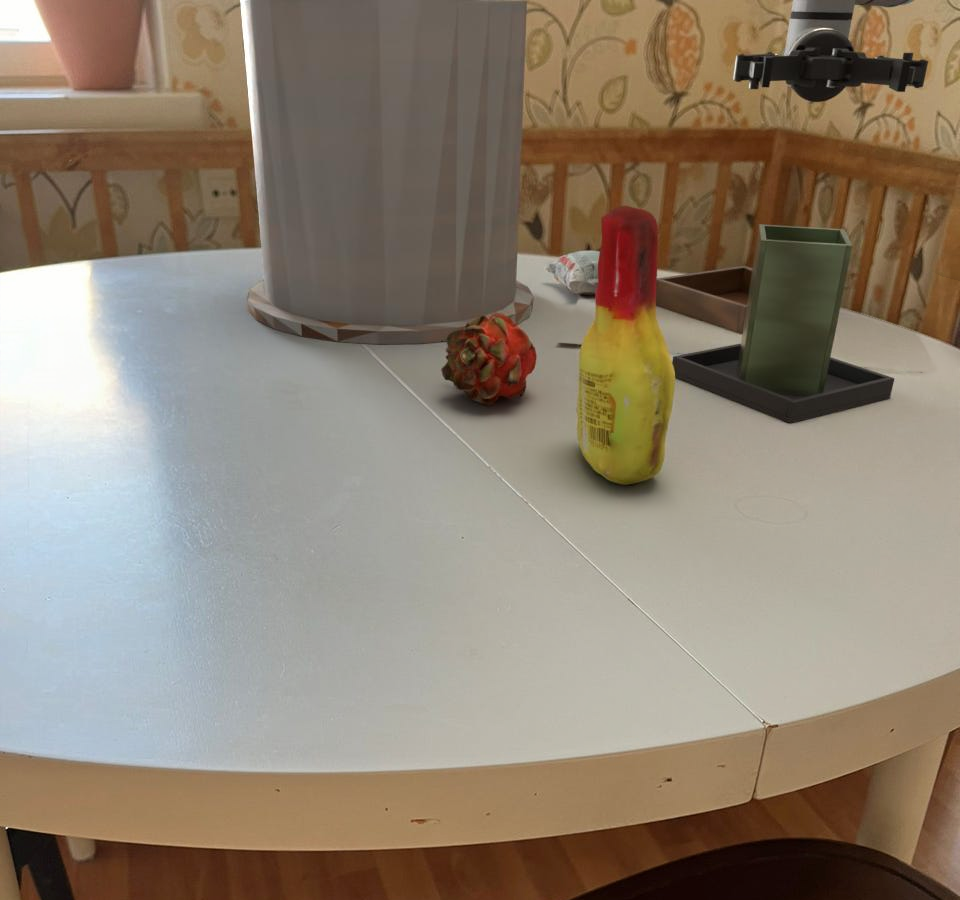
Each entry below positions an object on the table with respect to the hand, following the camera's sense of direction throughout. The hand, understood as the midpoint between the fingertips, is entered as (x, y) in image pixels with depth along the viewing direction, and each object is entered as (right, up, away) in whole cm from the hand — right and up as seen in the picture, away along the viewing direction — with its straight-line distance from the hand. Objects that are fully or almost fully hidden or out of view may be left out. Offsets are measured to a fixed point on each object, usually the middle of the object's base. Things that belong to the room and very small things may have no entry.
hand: (835, 74), depth 108 cm
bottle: (-26, -44, -22) cm, 56 cm away
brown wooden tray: (-5, -18, +21) cm, 28 cm away
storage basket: (-48, -17, +22) cm, 55 cm away
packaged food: (-23, -13, +29) cm, 39 cm away
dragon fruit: (-36, -35, -7) cm, 51 cm away
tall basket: (-7, -32, -3) cm, 33 cm away
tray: (-7, -33, -3) cm, 34 cm away
